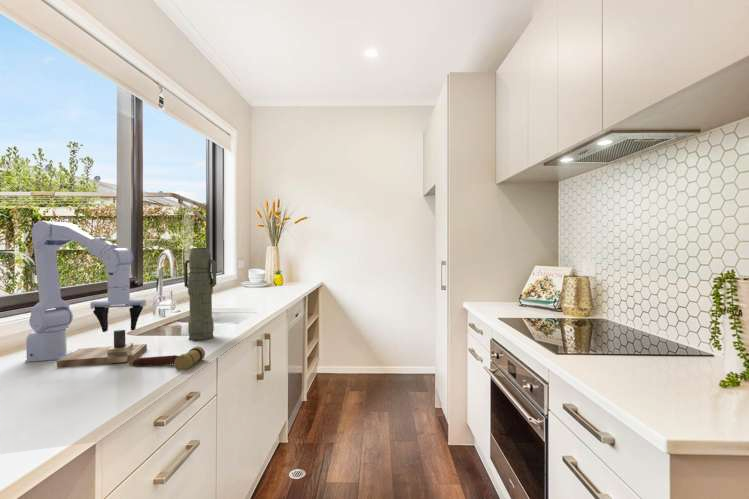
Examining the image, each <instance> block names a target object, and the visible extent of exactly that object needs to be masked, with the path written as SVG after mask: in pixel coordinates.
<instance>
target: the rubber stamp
mask: <svg viewBox="0 0 749 499" xmlns="http://www.w3.org/2000/svg"><path fill="white" fill-rule="evenodd" d="M133 345H134V343H126V329H116V330H114V331H113V345H112V347H111V346H109V347H110V348H109V349H107V358H108V364H119V363H118V362H120V363H128V362H127V355H128V354H129V353H131V352H132V347H133Z"/></svg>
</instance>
